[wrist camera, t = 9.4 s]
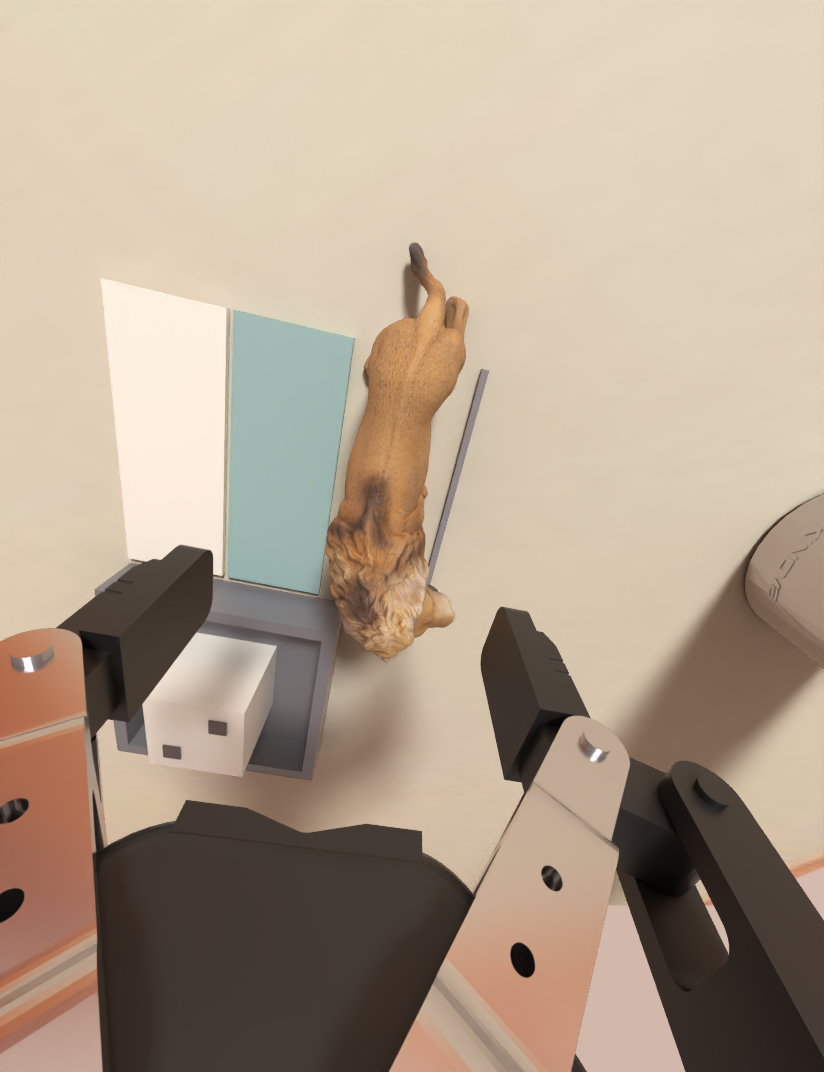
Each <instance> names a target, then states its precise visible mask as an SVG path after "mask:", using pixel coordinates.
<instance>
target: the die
mask: <svg viewBox="0 0 824 1072" xmlns="http://www.w3.org/2000/svg"><path fill="white" fill-rule="evenodd" d="M276 653H277V646H273V645H268V644H262V643H256V642H250V641H244V640H238V639H232V638H226V637H220V636H214V635H208V634H202V633H197V632H196V634H195V635H194V636H193V638H192V639H191V640H190V642H189V643H188V644H187V646H186V647H185V648H184V650H183V651H182V652H181V654H180V655H179V656H178V658H177V659H176V660H175V662H174V663H173V664H172V666H171V667H170V668H169V670H168V671H167V672H166V674H165V675H164V676H163V678H162V679H161V680H160V682H159V683H158V684H157V686H156V687H155V688H154V690H153V691H152V692H151V694H150V695H149V696H148V698H147V699H146V700H145V702H144V703H143V704H142V705H143V714H144V722H145V731H146V740H147V748H148V757H149V764H156V765H163V766H170V767H176V768H183V769H190V770H197V771H204V772H211V773H218V774H224V775H231V776H238V777H243V774H244V772H245V769H246V767H247V764H248V762H249V760H250V757H251V755H252V752H253V750H254V748H255V745H256V743H257V740H258V738H259V736H260V733H261V731H262V728H263V726H264V724H265V721H266V719H267V716H268V714H269V712H270V709H271V707H272V704H273V692H274V679H275V666H276Z"/></svg>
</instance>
